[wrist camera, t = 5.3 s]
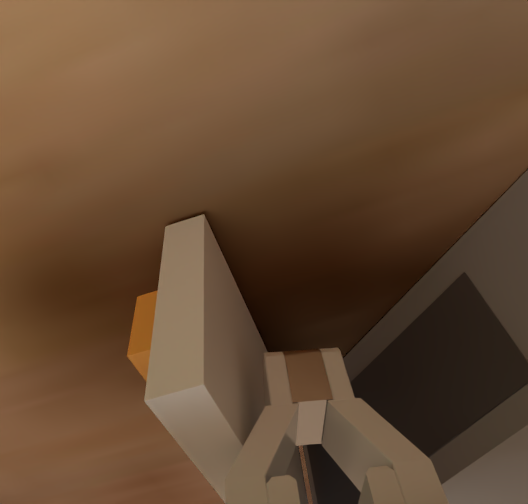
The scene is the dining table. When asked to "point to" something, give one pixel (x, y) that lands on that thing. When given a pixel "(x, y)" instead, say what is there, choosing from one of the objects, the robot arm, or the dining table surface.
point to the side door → (201, 354)
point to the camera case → (453, 366)
